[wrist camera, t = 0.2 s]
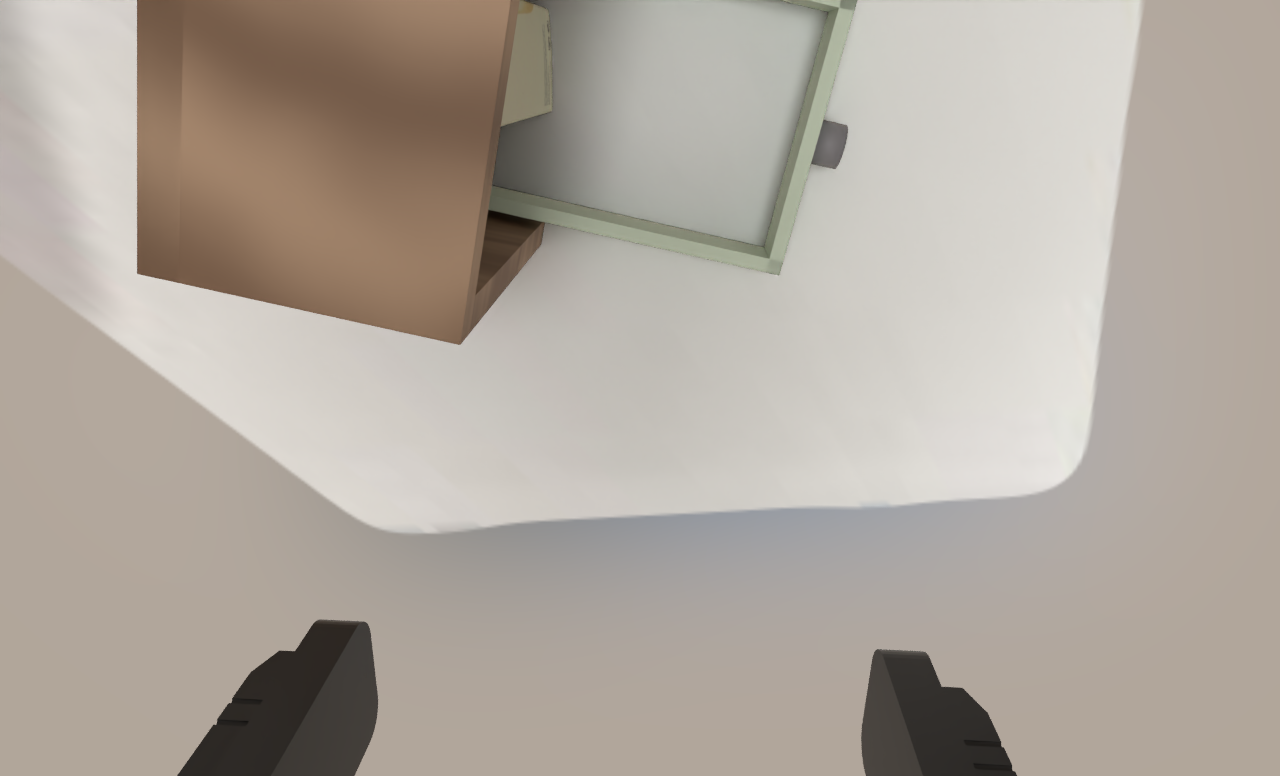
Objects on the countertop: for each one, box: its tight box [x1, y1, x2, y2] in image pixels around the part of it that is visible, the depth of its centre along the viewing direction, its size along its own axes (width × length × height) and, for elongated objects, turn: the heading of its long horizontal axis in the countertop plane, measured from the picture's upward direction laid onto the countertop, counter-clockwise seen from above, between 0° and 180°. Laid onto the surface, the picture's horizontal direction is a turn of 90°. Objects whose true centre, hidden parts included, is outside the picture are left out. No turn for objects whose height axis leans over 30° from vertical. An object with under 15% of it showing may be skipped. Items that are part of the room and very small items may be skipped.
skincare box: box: [501, 0, 552, 126], centre depth 30 cm, size 6×4×12 cm
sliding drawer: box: [488, 0, 857, 275], centre depth 35 cm, size 11×20×2 cm, turn 78°
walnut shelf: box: [137, 0, 545, 345], centre depth 29 cm, size 14×10×15 cm, turn 168°
